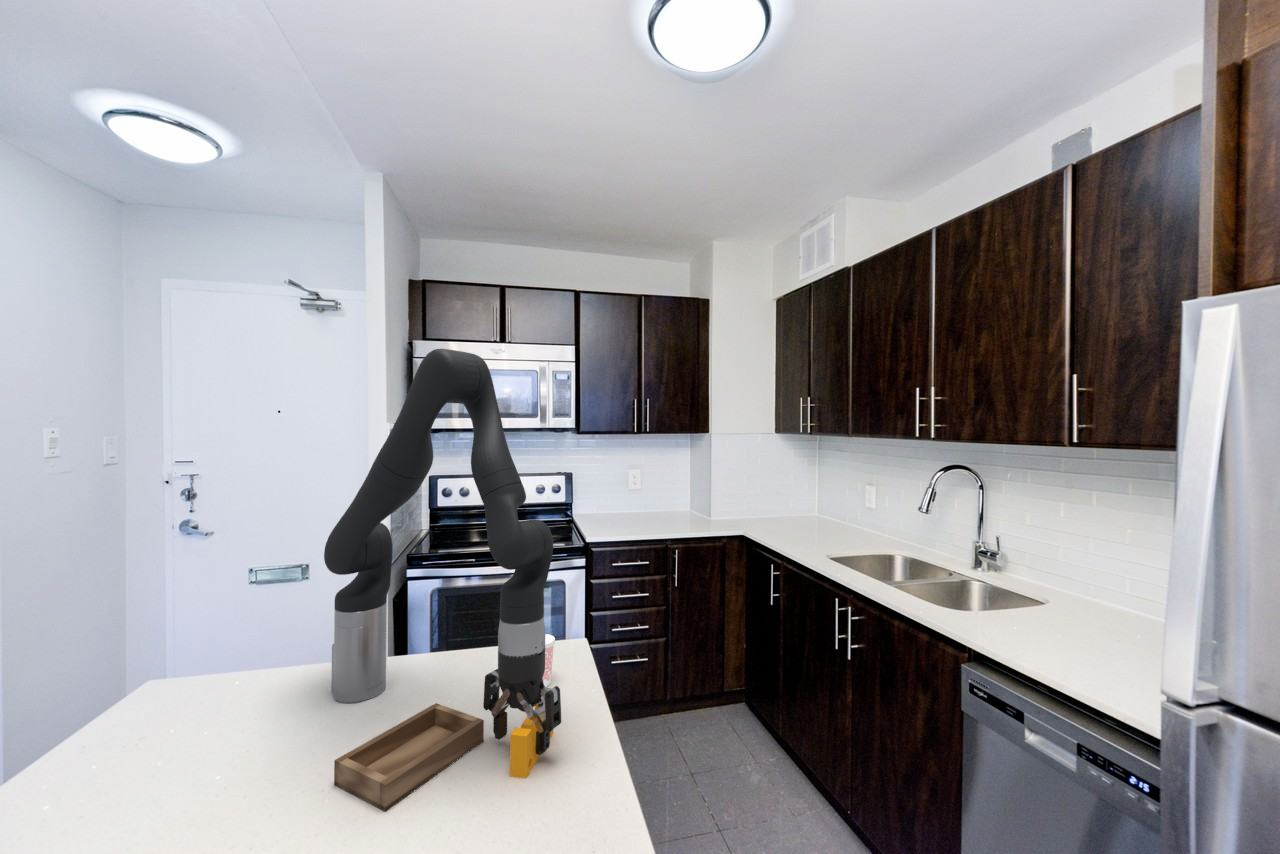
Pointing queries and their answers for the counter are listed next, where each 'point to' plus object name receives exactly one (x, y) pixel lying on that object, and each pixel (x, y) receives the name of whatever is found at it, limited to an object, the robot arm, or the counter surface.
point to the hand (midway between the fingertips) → (521, 744)
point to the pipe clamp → (523, 748)
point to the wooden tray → (407, 755)
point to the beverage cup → (548, 659)
